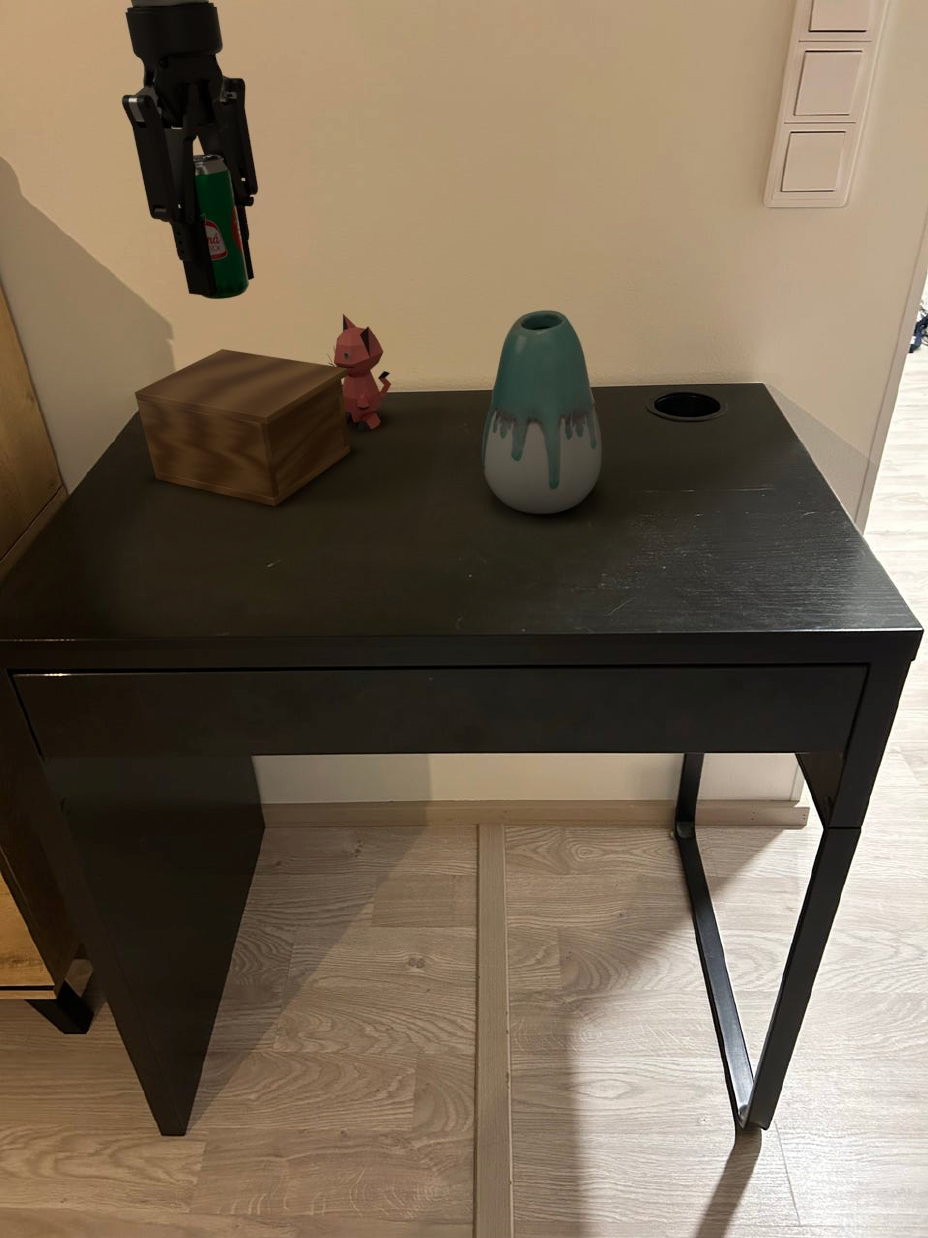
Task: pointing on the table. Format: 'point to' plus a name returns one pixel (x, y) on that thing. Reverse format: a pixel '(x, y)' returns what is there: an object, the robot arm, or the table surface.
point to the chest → (247, 447)
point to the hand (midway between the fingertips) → (222, 285)
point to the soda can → (220, 225)
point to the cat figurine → (360, 374)
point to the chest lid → (243, 385)
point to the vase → (542, 419)
